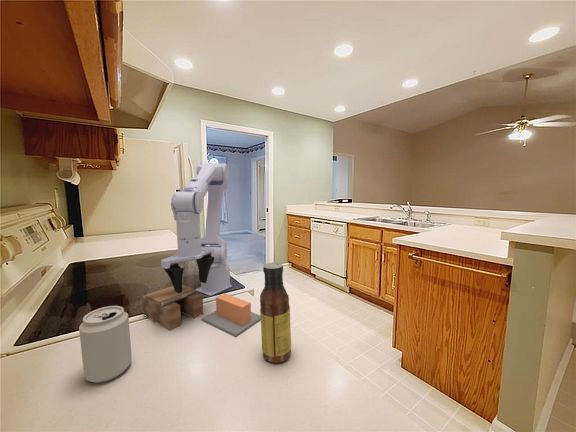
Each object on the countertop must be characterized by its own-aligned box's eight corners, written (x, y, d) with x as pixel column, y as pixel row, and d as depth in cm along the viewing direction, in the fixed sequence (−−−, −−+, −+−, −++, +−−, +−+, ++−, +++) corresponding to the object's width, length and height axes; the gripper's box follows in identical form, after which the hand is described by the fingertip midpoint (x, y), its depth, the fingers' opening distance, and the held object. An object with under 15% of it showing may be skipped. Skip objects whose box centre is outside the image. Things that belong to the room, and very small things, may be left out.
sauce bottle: (292, 346, 55) (292, 260, 53) (289, 366, 49) (290, 270, 47) (263, 344, 56) (262, 259, 53) (257, 363, 50) (256, 269, 47)
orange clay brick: (216, 314, 67) (215, 297, 67) (224, 310, 70) (224, 293, 69) (242, 326, 62) (242, 307, 61) (250, 320, 64) (250, 302, 64)
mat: (229, 305, 74) (229, 303, 74) (262, 318, 67) (262, 316, 67) (201, 320, 66) (201, 318, 66) (235, 337, 58) (235, 334, 58)
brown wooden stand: (143, 315, 68) (142, 292, 67) (176, 301, 76) (175, 281, 75) (169, 330, 61) (168, 305, 60) (203, 313, 69) (202, 291, 68)
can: (114, 386, 44) (108, 324, 42) (73, 386, 44) (66, 323, 43) (140, 357, 51) (136, 303, 50) (105, 357, 51) (100, 302, 50)
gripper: (172, 244, 56) (175, 301, 58) (220, 234, 68) (222, 281, 70) (155, 240, 60) (158, 293, 61) (204, 231, 72) (206, 276, 74)
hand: (191, 286), depth 66 cm, fingers open, 7 cm apart
